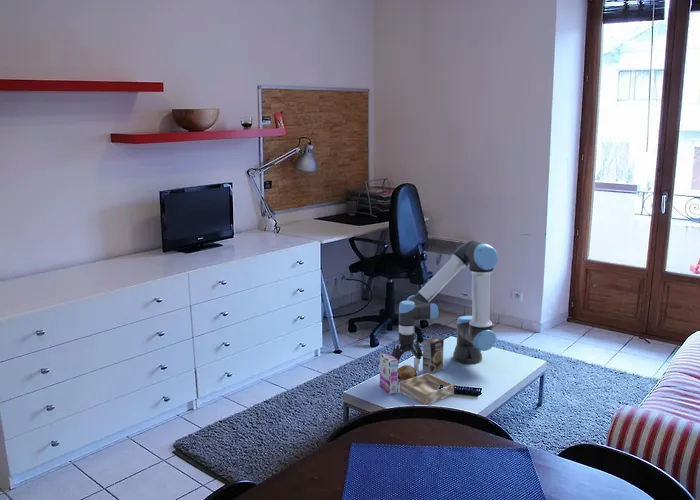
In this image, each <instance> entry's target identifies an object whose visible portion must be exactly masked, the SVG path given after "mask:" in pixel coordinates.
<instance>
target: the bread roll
mask: <svg viewBox="0 0 700 500" xmlns="http://www.w3.org/2000/svg"><path fill="white" fill-rule="evenodd" d="M417 373H418V372H417V371H416V370H415V368H414V366H412V365H409V364H405V365H401V366H399V367H398V380H400V381H405V380H408V379H411V378H414V377H417V376H418V375H417Z"/></svg>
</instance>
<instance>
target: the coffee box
mask: <svg viewBox="0 0 700 500" xmlns="http://www.w3.org/2000/svg"><path fill="white" fill-rule="evenodd" d="M444 342H445V341H444V338H440V337H437V336H433V337H432V336H431V337H430V338H427V339H424V340H422V353H423V356H422V371H424V372H426V373H429V374H431V375H433V374H434V373H437V372H439V371H442V370H444Z"/></svg>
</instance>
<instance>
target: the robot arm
mask: <svg viewBox="0 0 700 500" xmlns="http://www.w3.org/2000/svg"><path fill="white" fill-rule="evenodd" d="M497 252H498V251H497V250H496V249H495V247H493V246H491V245H490V244H488V243H484V242H481V241H478V240H475V239H474V240H468V241H467V242H465V243H463V244H461V246H459V247H458V248H457V249H456V250H455V251H454V252H453V253H452V254H451V258H450V259H448V261H447V262H446V263H445V264H444V265H443V266H442V267H441V268H440V269H439V270H438V271H437V272H436V273H435V275H434V276H433V277H432V278H430V279H429V280H428V282H426V283H425V285H423V287H422V288H420V290H419V291H418V292H416V294H415V295H414V294H412V295H410V296H408V297H407V298H406V300H402V301H400V302H399V304H398V305H399V307H398V344H396V343H394V345H393V349H392V352H391V355H392V356H393V357H395V358H396V359H397V360H398V362H399V361H400V359H401V358H402V355H403V354H405V353H407V352H410V353H412V355H413V356H414V357H413V367H414V368H415V370H416V373H418V372H419V368H420V366H419V365H420V364H421V363H420V360H421V359H422V357H423V350H422V349H421V347H420V344H419V340H418V339H416V338H415V321H423V320H424V321H425V320H433V319H437V318H438V317H439V314H440V313H439V308H438V305H437V304H436V303H435V302H434V303H433V302H432V303H431V301H432V300H433V299H434V297H436V296H437V294H439V293H440V292H441V290H442V289H443V288H444V287H445V286H446V285H448V283H449V282H450V281H452V279H453V278H454V277H455V276H456V275H457V274H458V273H460V271H461V270H462V269H465V268H467V267H468V266H469V272H470V273H471V274H472V289H471V291H472V293H471V294H472V297H471V298H472V302H471V304H472V305H471V306H472V307H471V308H472V309H471V313H472V315H462V316H459V317H458V318H457V320H456V345H455V346H454V347H455V348H454V351H453V353H452V354H453V355H452V358H453V360H454V361H455V362H457V363H460V364H461V363H462V364H466V365H467V364H468V365H469V364H477V363H480V362H482V360H483V354H482V352H486V351H489V350H491V349H492V348H493V347H494V346H495V344H496V342H497V335H496V333H495V331H494V330H493V322H492V320H490V319H491V318H490V317H491V316H490V313H491V312H490V309H491V308H490V307H491V274H492V273H493V272H494V270H495V269H494V268H495V265H497V263H498V259H499V254H498V253H497Z"/></svg>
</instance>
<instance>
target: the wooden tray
mask: <svg viewBox="0 0 700 500" xmlns="http://www.w3.org/2000/svg"><path fill="white" fill-rule="evenodd" d="M440 385H443V386H446V387H443V388H441V389H439V386H440ZM399 393H401V394H403V395H405V396H407V397H409V398H410V399H413V401H414V400H415V401H416V402H419V403H420V404H422V405H424V406H427V405H430V404H433V403H436V402H438V401H441V400H444V399H446V398H449V397H451V396H452V397H453V396H454V395H455V384H453V383H452V382H449V381H446V380H444V379H442V378H440V377H438V376H435V375H433V374H431V373H428V372H426V373H423V374H420V375H416V377H414V378H411V379H408V380H405V381H403V380H400V382H399Z"/></svg>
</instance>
